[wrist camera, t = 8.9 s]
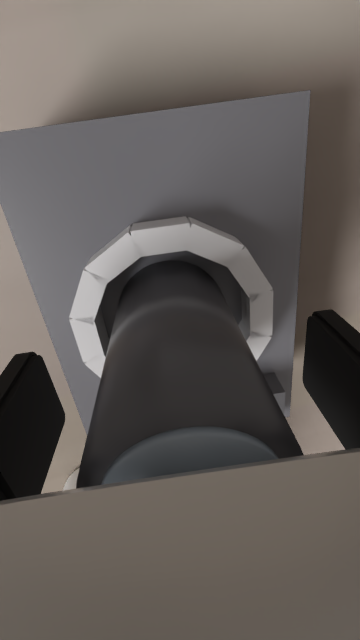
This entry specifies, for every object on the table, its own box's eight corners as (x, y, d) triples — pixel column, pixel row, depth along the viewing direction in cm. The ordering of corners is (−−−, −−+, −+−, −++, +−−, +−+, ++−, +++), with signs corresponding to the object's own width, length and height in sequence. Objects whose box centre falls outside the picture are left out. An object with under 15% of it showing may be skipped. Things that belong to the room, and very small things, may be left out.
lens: (107, 268, 14) (38, 439, 5) (220, 253, 14) (322, 397, 5) (129, 361, 16) (105, 578, 8) (226, 348, 16) (303, 548, 8)
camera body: (26, 141, 15) (-52, 132, 10) (265, 108, 15) (333, 80, 10) (103, 389, 23) (85, 469, 17) (263, 366, 23) (300, 437, 17)
